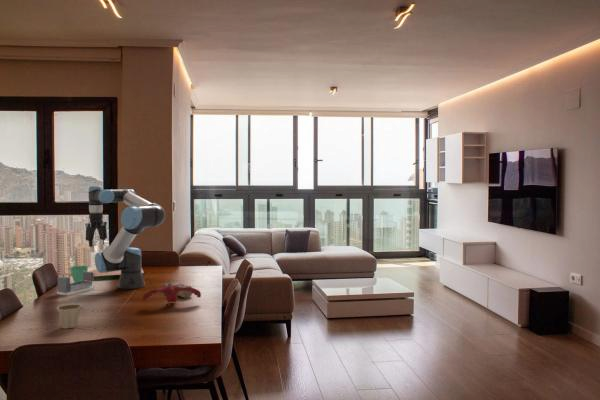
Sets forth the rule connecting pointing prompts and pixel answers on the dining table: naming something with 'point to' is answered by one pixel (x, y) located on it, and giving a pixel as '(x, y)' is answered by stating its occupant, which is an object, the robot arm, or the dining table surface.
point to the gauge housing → (72, 286)
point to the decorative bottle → (181, 293)
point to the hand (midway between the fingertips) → (96, 251)
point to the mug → (78, 272)
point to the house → (108, 273)
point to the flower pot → (69, 315)
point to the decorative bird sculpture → (171, 293)
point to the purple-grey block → (87, 277)
